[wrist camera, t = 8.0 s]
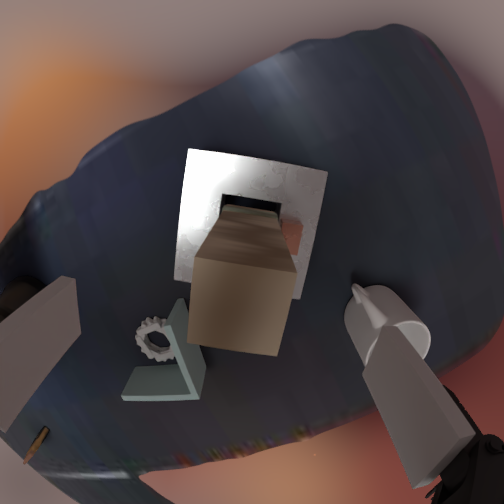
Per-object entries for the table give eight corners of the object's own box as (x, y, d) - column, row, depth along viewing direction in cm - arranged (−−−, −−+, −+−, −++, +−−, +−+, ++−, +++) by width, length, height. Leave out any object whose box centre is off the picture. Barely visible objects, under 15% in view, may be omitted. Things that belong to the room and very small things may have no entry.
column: (219, 250, 29) (184, 343, 14) (226, 202, 28) (192, 254, 13) (266, 257, 29) (278, 358, 14) (275, 210, 28) (300, 271, 13)
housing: (185, 261, 38) (169, 286, 30) (199, 150, 33) (184, 147, 26) (293, 278, 38) (302, 307, 31) (315, 170, 34) (333, 172, 26)
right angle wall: (184, 296, 39) (170, 325, 32) (206, 365, 43) (199, 399, 36) (110, 307, 40) (88, 333, 33) (138, 370, 44) (123, 400, 36)
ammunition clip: (44, 425, 51) (25, 455, 40) (50, 429, 52) (32, 460, 40) (37, 435, 54) (20, 462, 42) (42, 439, 54) (26, 466, 43)
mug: (370, 252, 37) (406, 283, 27) (404, 312, 40) (438, 351, 30) (318, 290, 39) (337, 333, 28) (359, 345, 41) (382, 391, 31)
